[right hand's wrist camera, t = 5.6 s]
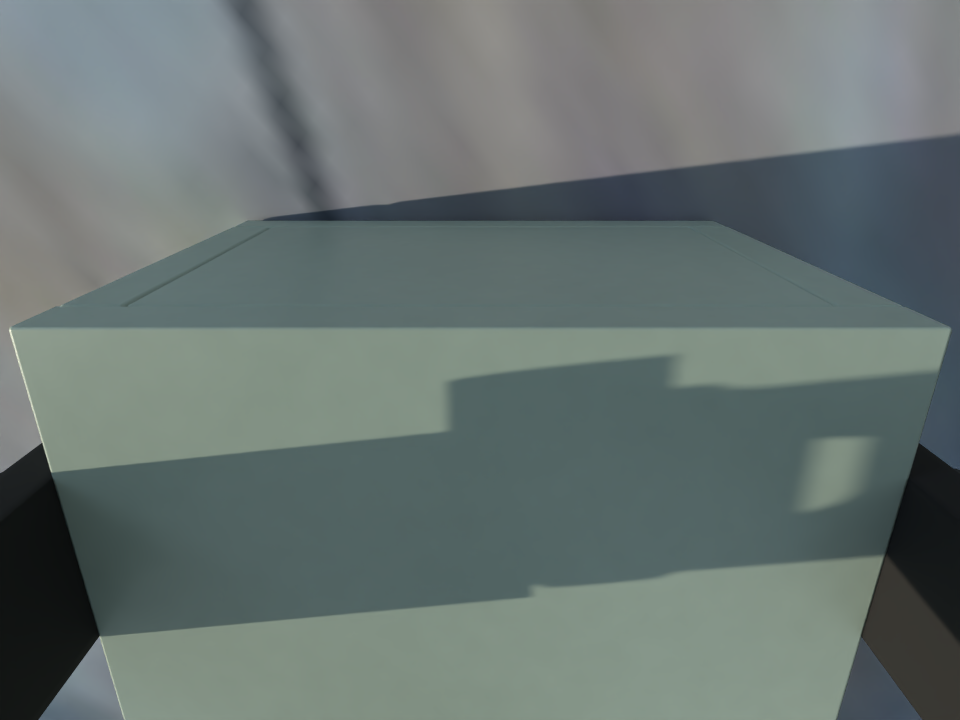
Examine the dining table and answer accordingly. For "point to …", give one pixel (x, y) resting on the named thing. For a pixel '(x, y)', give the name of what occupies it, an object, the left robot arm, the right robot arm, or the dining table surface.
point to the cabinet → (480, 470)
